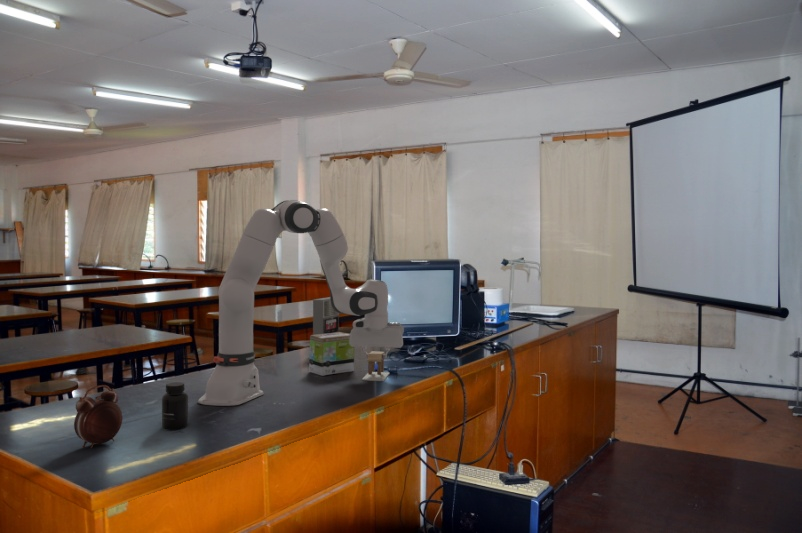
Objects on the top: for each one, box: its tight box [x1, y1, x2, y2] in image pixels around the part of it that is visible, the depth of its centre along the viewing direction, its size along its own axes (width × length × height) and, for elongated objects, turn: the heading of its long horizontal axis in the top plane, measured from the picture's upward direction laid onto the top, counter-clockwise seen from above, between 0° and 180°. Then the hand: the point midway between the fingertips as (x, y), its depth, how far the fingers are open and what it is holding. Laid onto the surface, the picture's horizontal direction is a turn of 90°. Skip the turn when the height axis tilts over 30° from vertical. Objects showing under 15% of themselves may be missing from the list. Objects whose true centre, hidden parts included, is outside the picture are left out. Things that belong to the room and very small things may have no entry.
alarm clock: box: [73, 384, 123, 449], centre depth 152 cm, size 11×5×15 cm, turn 150°
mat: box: [362, 371, 390, 382], centre depth 230 cm, size 12×8×1 cm, turn 171°
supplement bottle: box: [161, 381, 189, 431], centre depth 167 cm, size 7×7×12 cm
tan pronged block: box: [367, 351, 385, 375], centre depth 230 cm, size 7×5×8 cm
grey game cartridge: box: [312, 296, 340, 335], centre depth 277 cm, size 14×6×25 cm, turn 155°
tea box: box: [308, 331, 355, 377], centre depth 238 cm, size 15×10×15 cm
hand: (376, 358), depth 229 cm, fingers closed on tan pronged block, 5 cm apart
